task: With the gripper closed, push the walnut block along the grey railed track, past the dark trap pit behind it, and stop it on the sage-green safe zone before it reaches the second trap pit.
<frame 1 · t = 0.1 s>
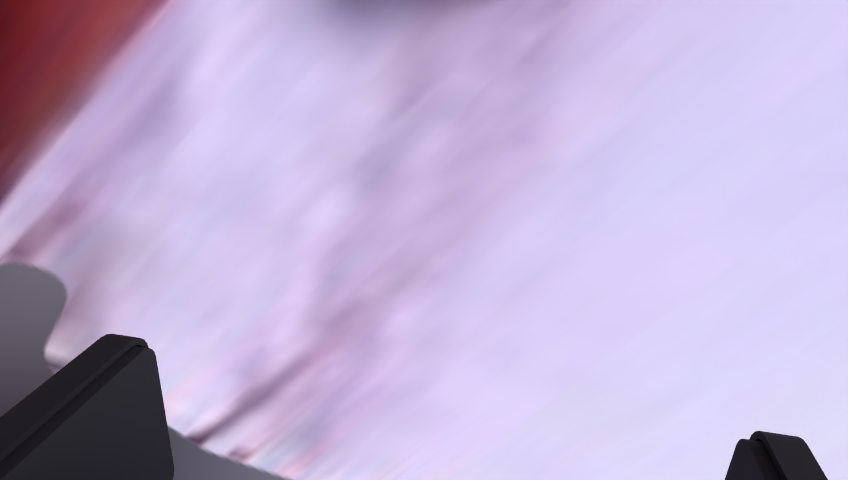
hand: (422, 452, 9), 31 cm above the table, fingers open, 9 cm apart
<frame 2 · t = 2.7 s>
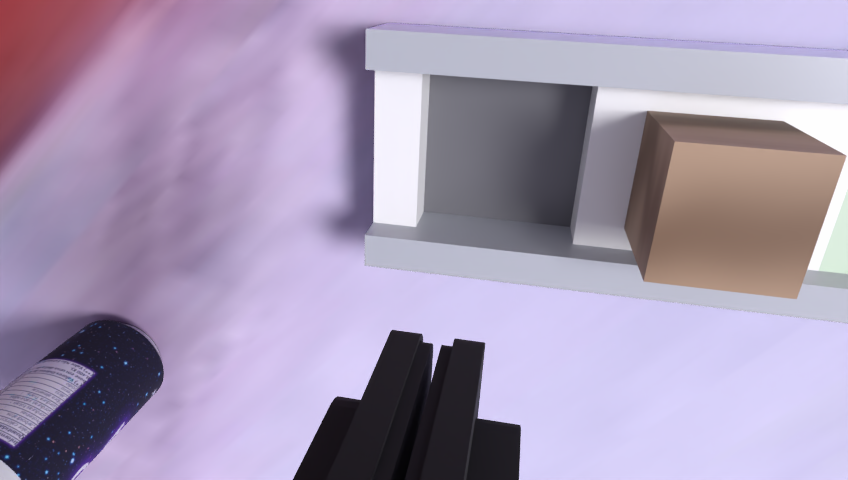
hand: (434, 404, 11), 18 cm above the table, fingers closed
beverage can: (131, 350, 36), on the table
walnut block: (699, 177, 24), point 2 cm above the table, touching trap track
trap track: (744, 166, 26), on the table
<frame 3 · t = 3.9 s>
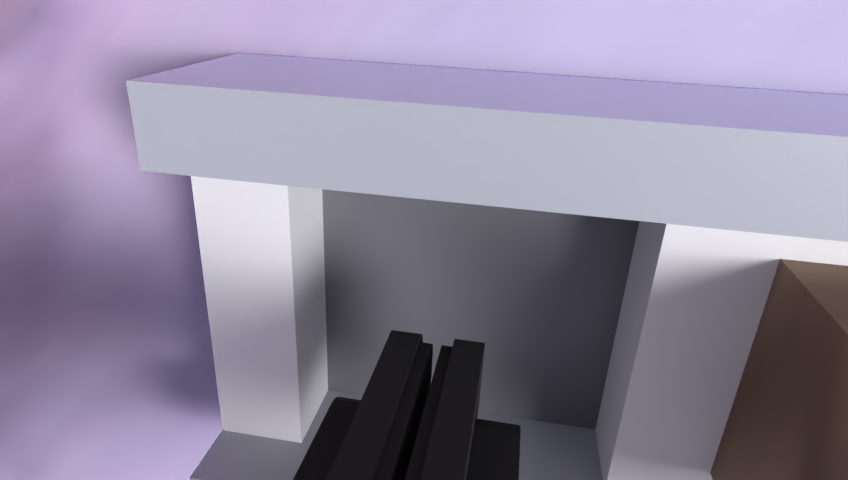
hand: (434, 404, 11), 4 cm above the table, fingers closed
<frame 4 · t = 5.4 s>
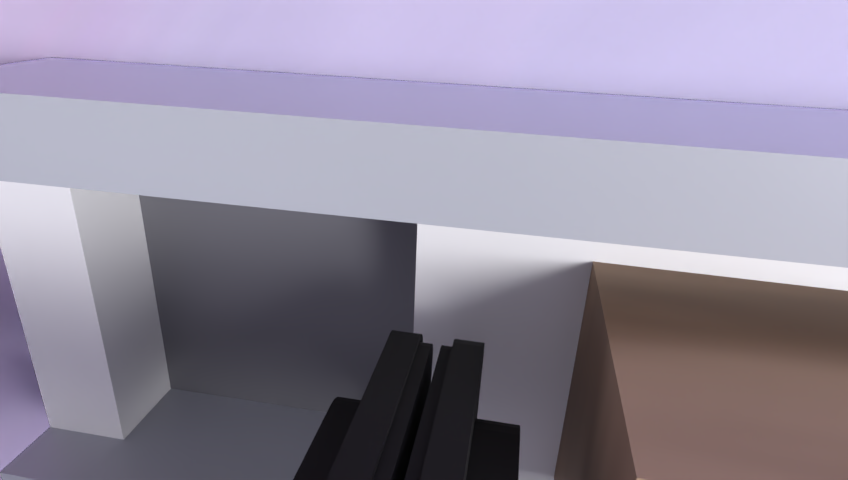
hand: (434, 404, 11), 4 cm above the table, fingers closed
walnut block: (708, 398, 11), point 2 cm above the table, touching gripper, trap track
trap track: (745, 335, 13), on the table
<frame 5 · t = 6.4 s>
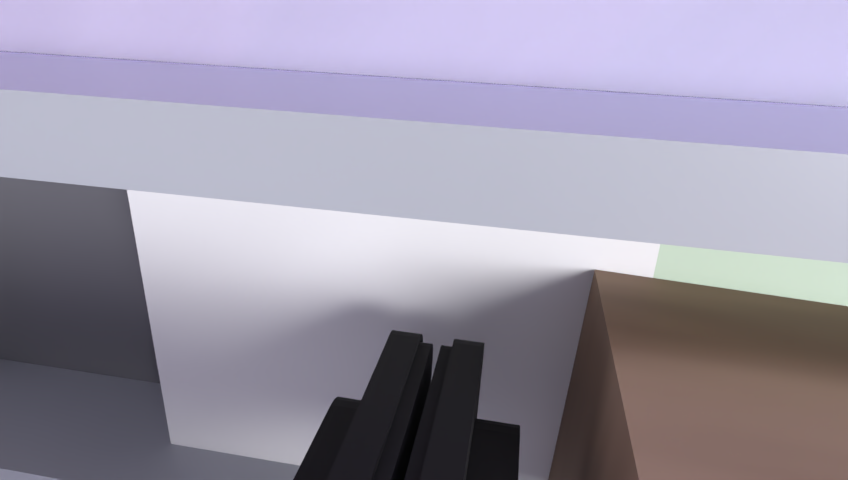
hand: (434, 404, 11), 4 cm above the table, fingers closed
walnut block: (703, 407, 11), point 3 cm above the table, touching gripper, trap track
trap track: (483, 300, 14), on the table
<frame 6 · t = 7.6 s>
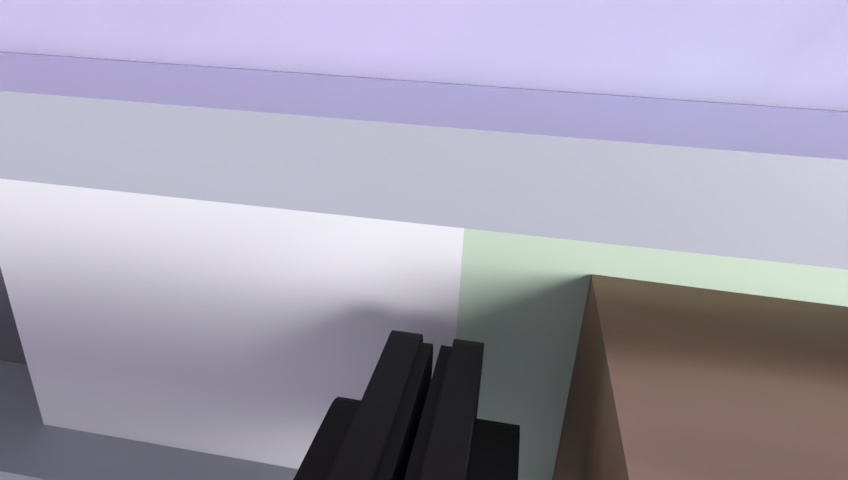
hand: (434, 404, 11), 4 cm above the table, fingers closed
walnut block: (705, 410, 11), point 2 cm above the table, touching gripper, trap track
trap track: (345, 286, 14), on the table
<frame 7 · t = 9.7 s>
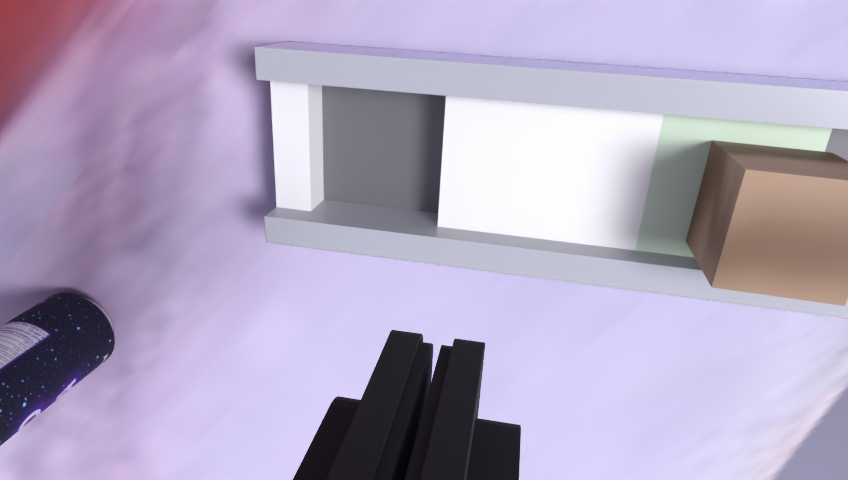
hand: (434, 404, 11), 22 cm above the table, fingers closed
beverage can: (89, 321, 42), on the table
walnut block: (755, 199, 27), point 2 cm above the table, touching trap track
trap track: (581, 163, 31), on the table
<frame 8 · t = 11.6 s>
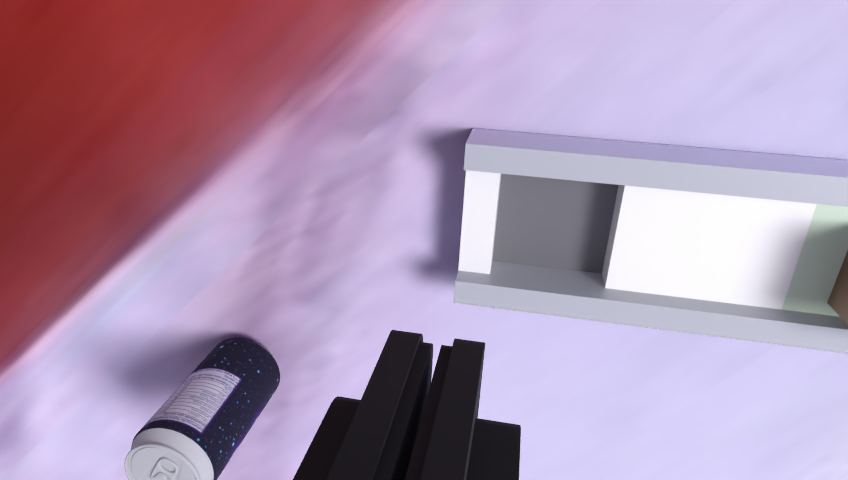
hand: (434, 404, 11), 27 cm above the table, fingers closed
beverage can: (251, 361, 46), on the table
trap track: (729, 232, 35), on the table
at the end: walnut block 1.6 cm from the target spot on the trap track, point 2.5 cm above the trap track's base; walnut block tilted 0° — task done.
